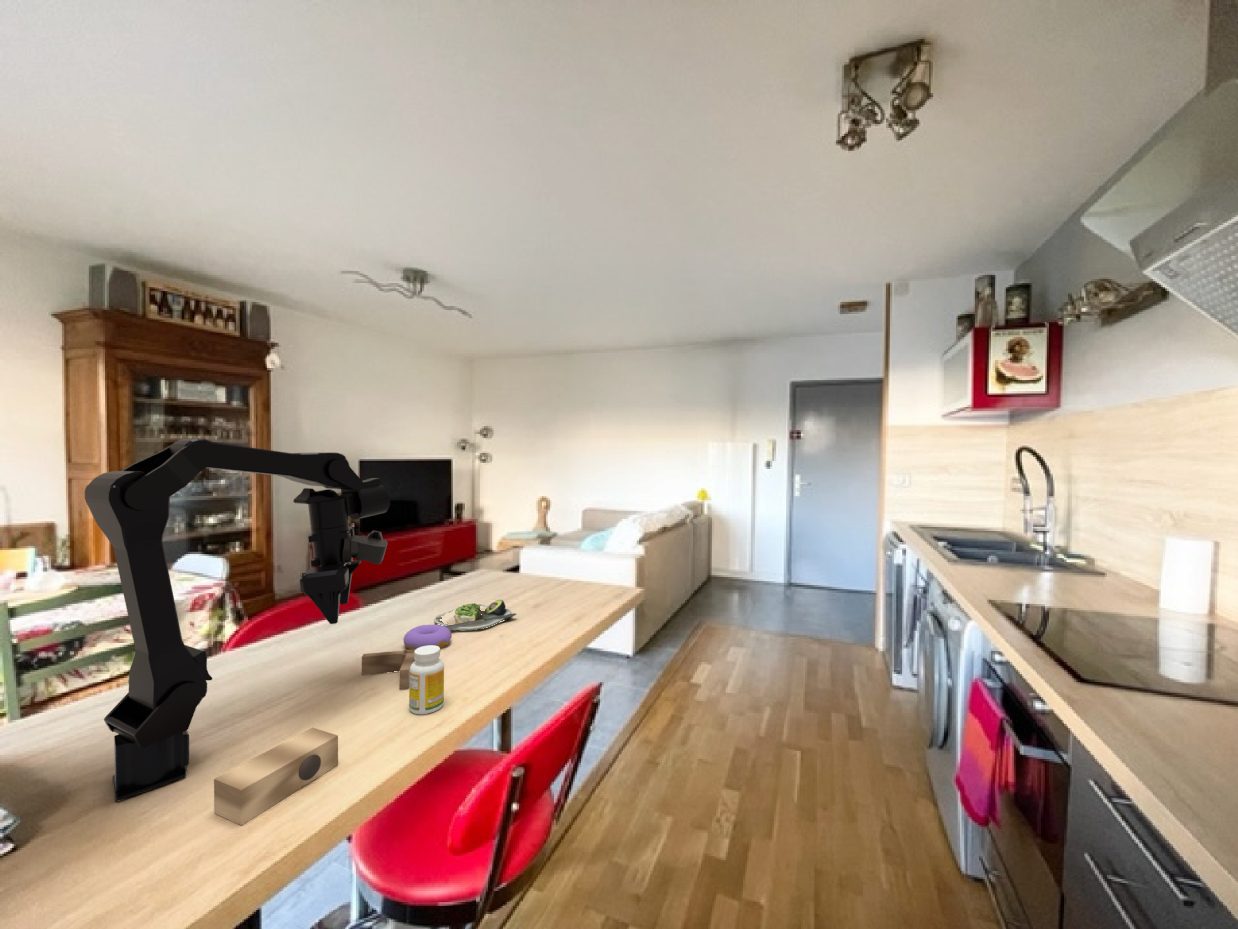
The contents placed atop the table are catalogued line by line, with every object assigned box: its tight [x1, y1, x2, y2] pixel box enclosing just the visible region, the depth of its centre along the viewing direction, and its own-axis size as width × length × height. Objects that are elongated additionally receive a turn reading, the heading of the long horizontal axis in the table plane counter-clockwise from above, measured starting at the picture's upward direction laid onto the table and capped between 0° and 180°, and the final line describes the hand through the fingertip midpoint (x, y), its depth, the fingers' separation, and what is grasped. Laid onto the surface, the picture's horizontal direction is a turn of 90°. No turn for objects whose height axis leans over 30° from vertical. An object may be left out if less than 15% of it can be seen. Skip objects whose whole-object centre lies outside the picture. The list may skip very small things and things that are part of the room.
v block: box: [361, 649, 416, 691], centre depth 95 cm, size 8×13×4 cm, turn 59°
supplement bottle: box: [408, 645, 445, 715], centre depth 83 cm, size 5×5×10 cm
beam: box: [213, 727, 339, 826], centre depth 62 cm, size 12×5×4 cm, turn 157°
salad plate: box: [433, 599, 517, 631], centre depth 125 cm, size 19×18×5 cm
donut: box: [402, 624, 452, 650], centre depth 110 cm, size 10×9×5 cm
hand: (339, 613), depth 87 cm, fingers open, 9 cm apart
